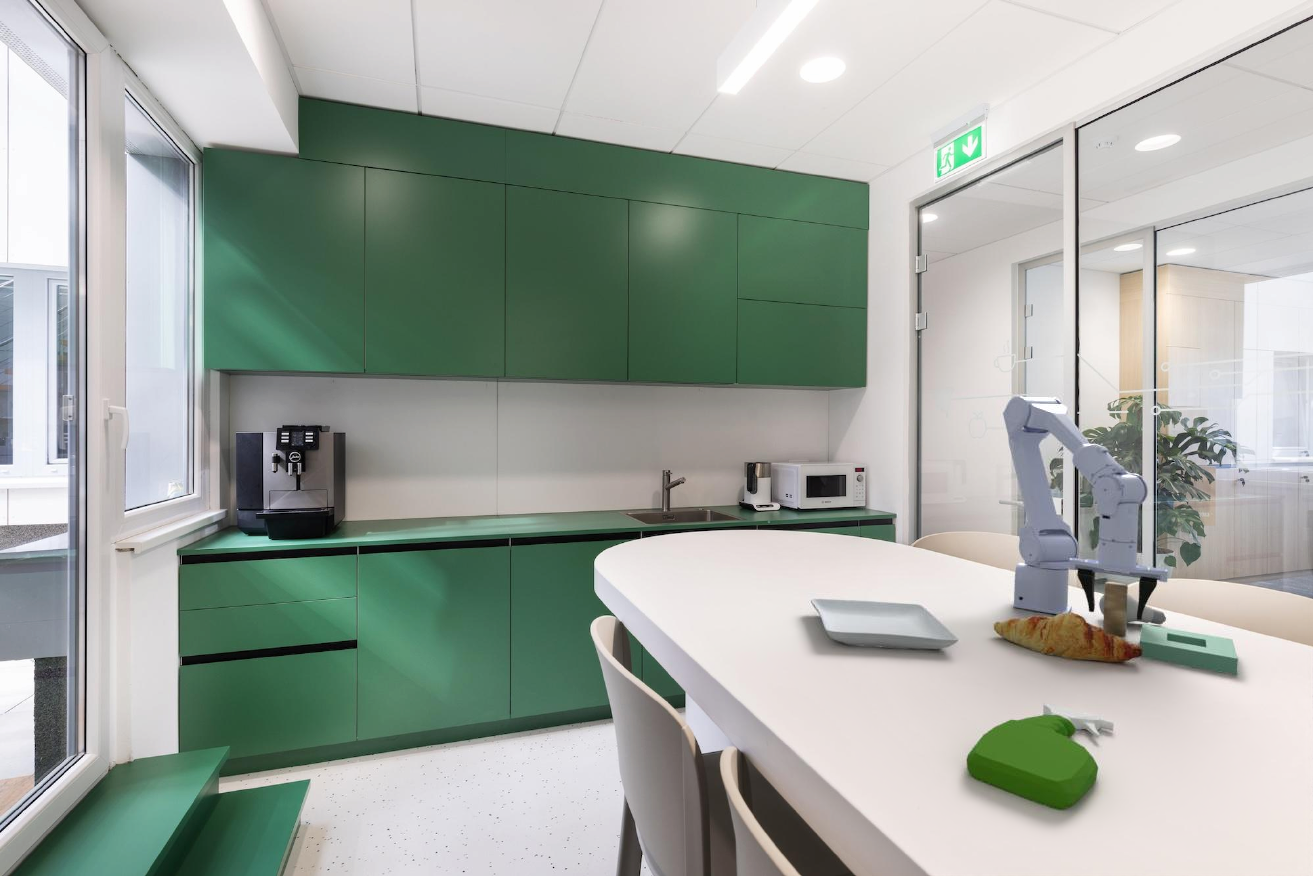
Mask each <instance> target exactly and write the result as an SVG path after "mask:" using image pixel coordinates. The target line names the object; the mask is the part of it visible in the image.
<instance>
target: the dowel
mask: <svg viewBox="0 0 1313 876" xmlns="http://www.w3.org/2000/svg"><path fill="white" fill-rule="evenodd" d="M1128 588H1129V585H1128V584H1125V583H1121V582H1116V581H1114V582H1113V581H1106V582H1104V594H1103V595H1104V615H1103V624H1102V625H1103V626H1102V629H1103V630H1104V631H1105V632H1106V633H1107V634H1109V635H1110V636H1114V635H1115V636H1117V637H1126V636H1127V623H1126V620H1127V594H1129V593H1128V591H1129V590H1128Z"/></svg>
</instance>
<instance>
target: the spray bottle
mask: <svg viewBox="0 0 1313 876" xmlns="http://www.w3.org/2000/svg"><path fill="white" fill-rule="evenodd" d="M1042 714H1043V715H1035V716H1031V717H1025V718H1021V719H1009V720H1007V721H1005V722H1002V723H1000V724H997V725H996V726H994V727H992V728H991V729H990V730H989V731H987V732H986V733H984V734H983V735H982V736H981V737H980V739H979V740H978V741H977V743H976V744H975V745H974V746H973V747H972V748H971V751H970V752H969V753H968V755H967V757H966V766H967V770H968V772H969V774H970V775H971V777H972V778H973V779H975V780H977V781H979V782H982V783H985V784H986V785H990V786H993V787H995V788H997V789H999V788H1000V789H999V790H1003V791H1005V792H1007V793H1010V794H1013V795H1015V796H1018V797H1021V798H1023V799H1025V800H1029V801H1031V802H1033V803H1036V804H1039V805H1043V806H1045V805H1046V806H1045V807H1048V808H1051V809H1055V808H1056V810H1061V809H1062V810H1064V808H1065V809H1068V808H1070V807H1072V806H1073V805H1074V804H1075V803H1076V802H1078V801H1079V800H1080V799H1081V798H1082V797H1083V796H1084V795H1085V794H1086V793H1087V792H1088V791H1089V789H1091V787H1092V786H1093V784H1094V783H1095V782H1096V780H1097V777H1098V772H1099V771H1098V770H1099V766H1098V764H1097V762H1096V760H1095V758H1094V757H1093V755H1092V754H1091V753H1090V752H1089V751H1088V750H1087V748H1085V746H1083V745H1081V744H1080V743H1078V742H1076V741H1075V740H1073V739H1071V738H1069V737H1072V736H1073V735H1074V734H1075V733H1076V730H1087V731H1089V732H1090V734H1092V735H1093V736H1095V737H1096V738H1098V739H1101V734H1100V733H1099V732H1098V730H1100V729H1103V730H1108V731H1114V725H1115V723H1114V721H1111V720H1107V719H1105V718H1101V717H1099V716H1097V715H1094V714H1089V713H1086V712H1081V711H1078V710H1073V709H1070V708H1066V707H1063V706H1058V705H1054V704H1048V703H1043V708H1042ZM1067 807H1068V808H1067Z"/></svg>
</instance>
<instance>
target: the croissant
mask: <svg viewBox="0 0 1313 876" xmlns="http://www.w3.org/2000/svg"><path fill="white" fill-rule="evenodd" d="M993 631H994V632H995V633H996V635H999V636H1000V637H1002V638H1003V639H1005V640H1007V641H1010V642H1012V643H1014V644H1017V645H1019V646H1023V647H1024V648H1027V649H1029V648H1030V650H1032V649H1033V651H1035V650H1036V652H1037V653H1038V652H1039V653H1041V652H1043V653H1042V654H1044V655H1049V654H1052V655H1051V656H1056V655H1057V656H1056V657H1060V656H1062V657H1061V658H1065V659H1070V658H1071V660H1085V661H1091V660H1092V661H1096V662H1105V663H1119V662H1120V663H1124V662H1127V661H1130V660H1133V659H1138V658H1140V657H1141V655H1142V648H1141V647H1140V646H1139V645H1138V644H1135V643H1129V642H1128V641H1126V640H1125V639H1124V638H1122V637H1121V636H1115V635H1114V636H1113V635H1109V634H1107V633H1106V632H1105V631H1104V630H1103V628H1102V627H1100V626H1096V625H1093V624H1091V623H1089V622H1087V621H1086V619H1085V617H1083V616H1081V615H1080V614H1077V613H1074V612H1071V611H1070V612H1069V613H1066V614H1062V613H1061V614H1058V615H1057V614H1055V616H1053V617H1052V616H1044V615H1043V616H1042V615H1031V616H1028V617H1027V618H1025V617H1024V618H1010V619H1006V620H1005V621H1002V622H1000V621H996V622H994V624H993Z"/></svg>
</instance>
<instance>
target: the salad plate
mask: <svg viewBox="0 0 1313 876" xmlns="http://www.w3.org/2000/svg"><path fill="white" fill-rule="evenodd" d="M810 603H811V604H812V606H813V608H814V609H815V611H816V612H817V613H818V615H819V616H820V619H821V622H822V625H823V629H824V630H825V632H826V633H827V635H828V637H830V638H831V639H833V640H834V641H836V642H840V643H842V642H843V643H842V644H845V645H850V646H856V645H861V646H860V647H871V646H882V647H881V648H888V647H893V648H892V649H907V648H912V649H911V650H940V649H946V648H949V647H952V646H953V645H955V644H956V643H958V641H959V638H958V637H957V635H956V634H955V633H953V632H952V631H951V630H950V629H949V628H948V627H947V626H946V625H945V624H943V622H941V621H940V620H939V619H938V618H937V617H936V616H934V615H933V614H932V613H931V612H930V611H929V610H928V609H927V608H925V607H924V606H923V605H921V604H916V603H902V602H887V601H874V600H873V601H871V600H869V601H868V600H851V599H850V600H849V599H831V598H829V599H827V598H826V599H825V598H812V599H810ZM862 645H863V646H862ZM913 648H914V649H913Z"/></svg>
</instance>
